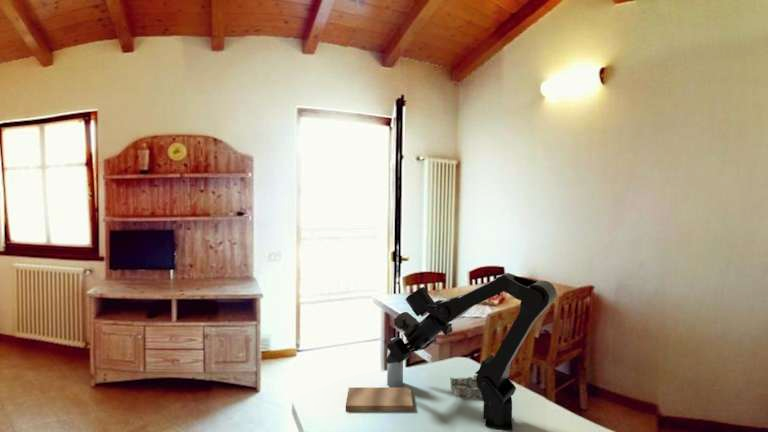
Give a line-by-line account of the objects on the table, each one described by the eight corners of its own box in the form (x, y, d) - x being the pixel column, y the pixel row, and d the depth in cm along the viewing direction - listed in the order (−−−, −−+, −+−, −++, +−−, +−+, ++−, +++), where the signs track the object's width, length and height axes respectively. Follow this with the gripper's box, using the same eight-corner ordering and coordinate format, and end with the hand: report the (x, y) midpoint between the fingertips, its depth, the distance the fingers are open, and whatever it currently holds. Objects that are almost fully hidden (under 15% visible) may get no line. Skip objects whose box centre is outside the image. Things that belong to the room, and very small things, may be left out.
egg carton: (485, 387, 118) (486, 374, 117) (488, 400, 110) (488, 386, 110) (450, 384, 119) (450, 371, 119) (449, 396, 112) (450, 382, 112)
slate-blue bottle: (404, 381, 121) (404, 337, 120) (401, 388, 116) (401, 342, 116) (389, 379, 122) (389, 335, 121) (385, 386, 117) (385, 341, 117)
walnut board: (410, 392, 114) (410, 387, 114) (412, 411, 104) (412, 405, 104) (348, 392, 114) (348, 387, 114) (345, 411, 104) (345, 405, 104)
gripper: (427, 299, 122) (398, 326, 129) (392, 313, 107) (362, 343, 114) (450, 329, 117) (418, 356, 125) (416, 348, 103) (383, 377, 110)
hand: (396, 357), depth 118 cm, fingers open, 9 cm apart
